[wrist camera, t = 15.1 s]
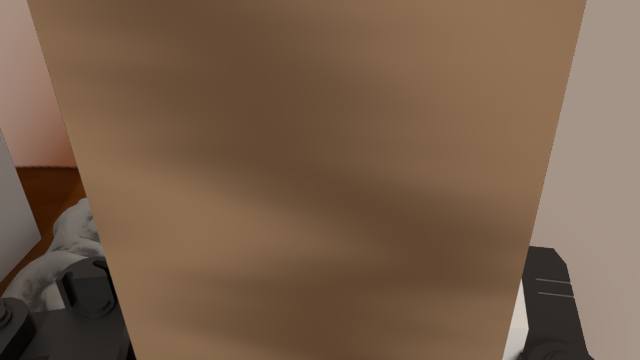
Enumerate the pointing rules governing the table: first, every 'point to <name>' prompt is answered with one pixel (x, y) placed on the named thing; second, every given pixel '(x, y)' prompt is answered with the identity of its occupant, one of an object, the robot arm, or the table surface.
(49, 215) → the table surface
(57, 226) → the wall plaque
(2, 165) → the grey plastic block
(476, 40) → the walnut block
